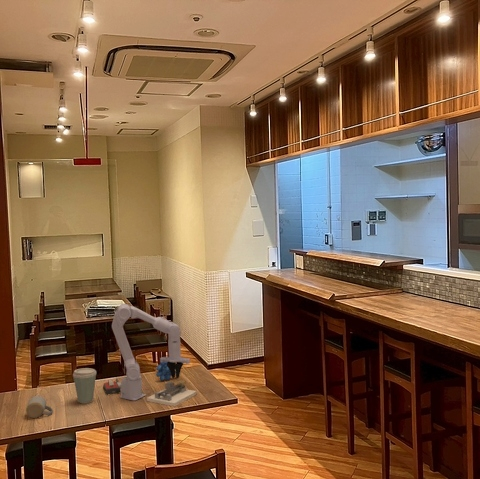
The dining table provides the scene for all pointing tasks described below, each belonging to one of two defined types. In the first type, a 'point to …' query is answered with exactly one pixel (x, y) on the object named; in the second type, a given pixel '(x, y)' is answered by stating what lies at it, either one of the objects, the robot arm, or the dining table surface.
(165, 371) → the grapes
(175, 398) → the latch base plate
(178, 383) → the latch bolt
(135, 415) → the dining table surface
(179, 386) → the strap
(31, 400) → the ceramic mug
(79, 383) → the disposable coffee cup
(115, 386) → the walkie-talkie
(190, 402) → the dining table surface
